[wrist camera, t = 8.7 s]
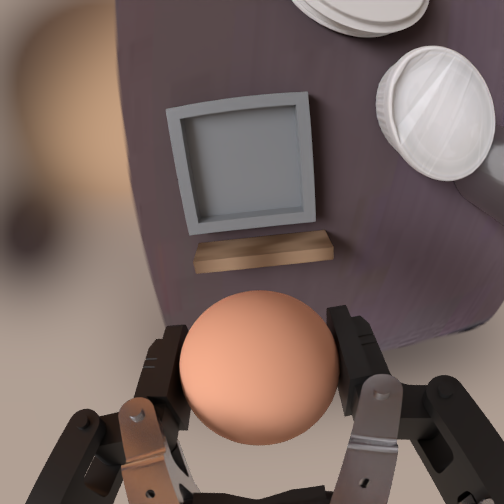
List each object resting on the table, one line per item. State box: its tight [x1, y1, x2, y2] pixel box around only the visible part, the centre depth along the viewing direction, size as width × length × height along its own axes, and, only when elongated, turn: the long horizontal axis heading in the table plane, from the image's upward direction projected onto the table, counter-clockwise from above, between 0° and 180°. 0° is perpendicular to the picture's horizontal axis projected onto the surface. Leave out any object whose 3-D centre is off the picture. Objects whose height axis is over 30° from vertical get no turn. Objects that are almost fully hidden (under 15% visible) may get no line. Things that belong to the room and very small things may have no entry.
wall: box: [193, 230, 334, 274], centre depth 28 cm, size 12×1×4 cm, turn 96°
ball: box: [179, 290, 340, 445], centre depth 10 cm, size 6×6×6 cm
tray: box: [166, 92, 316, 235], centre depth 25 cm, size 11×11×2 cm
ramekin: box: [376, 46, 495, 181], centre depth 21 cm, size 11×11×5 cm
